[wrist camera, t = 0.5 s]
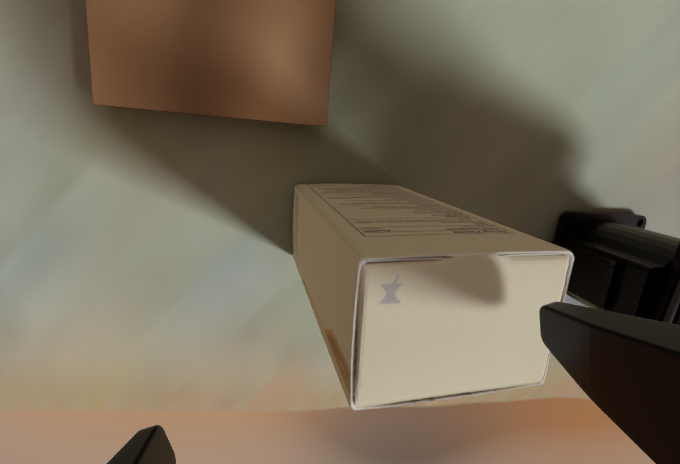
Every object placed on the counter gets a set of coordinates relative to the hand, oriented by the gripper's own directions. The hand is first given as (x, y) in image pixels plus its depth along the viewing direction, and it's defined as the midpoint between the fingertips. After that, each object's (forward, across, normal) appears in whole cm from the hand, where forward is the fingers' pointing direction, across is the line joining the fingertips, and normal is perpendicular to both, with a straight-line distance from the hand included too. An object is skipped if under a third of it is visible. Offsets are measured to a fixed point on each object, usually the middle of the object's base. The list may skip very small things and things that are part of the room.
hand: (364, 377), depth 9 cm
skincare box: (+13, -2, 0) cm, 13 cm away
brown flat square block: (+13, +1, -12) cm, 18 cm away
